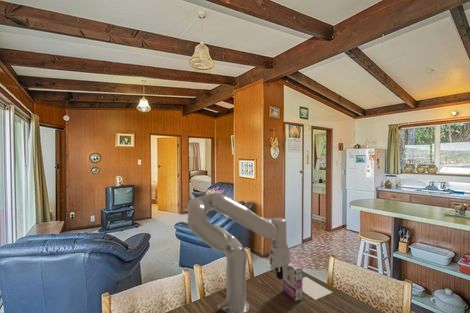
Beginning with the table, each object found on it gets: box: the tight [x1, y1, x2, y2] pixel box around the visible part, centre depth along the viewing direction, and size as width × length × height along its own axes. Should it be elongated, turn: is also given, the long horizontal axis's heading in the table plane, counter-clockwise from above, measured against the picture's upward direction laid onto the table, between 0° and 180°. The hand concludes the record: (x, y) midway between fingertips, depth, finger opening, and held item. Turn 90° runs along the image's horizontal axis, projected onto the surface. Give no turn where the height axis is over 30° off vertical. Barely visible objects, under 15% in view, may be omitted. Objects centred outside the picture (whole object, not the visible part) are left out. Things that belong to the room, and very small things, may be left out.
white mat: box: [302, 276, 333, 301], centre depth 139 cm, size 13×19×1 cm
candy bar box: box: [282, 259, 304, 302], centre depth 132 cm, size 11×5×16 cm, turn 23°
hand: (279, 278), depth 128 cm, fingers closed
